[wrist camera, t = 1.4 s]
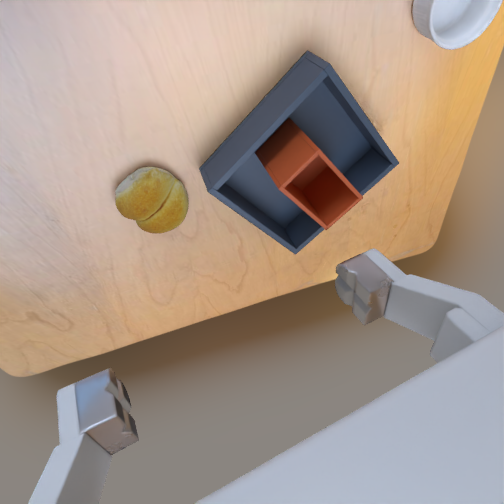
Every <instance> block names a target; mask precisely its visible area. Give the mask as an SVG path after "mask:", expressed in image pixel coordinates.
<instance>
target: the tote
mask: <svg viewBox="0 0 504 504" xmlns="http://www.w3.org/2000/svg"><path fill="white" fill-rule="evenodd" d="M255 154H256V156H257V157H258V159H259V160H260V162H261V163H262V165H263V166H264V168H265V169H266V171H267V172H268V174H269V175H270V177H271V178H272V180H273V181H274V183H275V184H276V186H277V188H278V189H279V190H280V191H281V192H282V193H284V194H285V195H286V196H287V197H288V198H289V199H291V200H292V201H293V202H294V203H295V204H296V205H298V206H299V207H300V208H301V209H302V210H303V211H304V212H306V213H307V214H308V215H309V216H310V217H311V218H313V219H314V220H315V221H316V222H317V223H318V224H320V225H321V226H322V227H323V228H324V229H325V230H327V229H328V228H329V227H331V226H332V225H333V224H334V223H335V222H336V221H337V220H339V219H340V218H341V217H342V216H343V215H344V214H345V213H347V212H348V211H349V210H350V209H351V208H352V207H353V206H355V205H356V204H357V203H358V202H359V201H360V200H361V199H363V196H362V195H361V194H360V193H359V192H358V191H357V190H356V189H355V188H354V186H353V185H352V184H351V183H350V182H349V181H348V180H347V179H346V178H345V176H344V175H343V174H342V173H341V172H340V171H339V170H338V169H337V168H336V166H335V165H334V164H333V163H332V162H331V161H330V160H329V159H328V158H327V157H326V155H325V154H324V153H323V152H322V151H321V150H320V149H319V148H318V147H317V146H316V145H315V144H314V143H313V142H312V140H311V139H310V138H309V137H308V136H307V135H306V134H305V133H304V132H303V131H302V130H301V129H300V128H299V127H298V126H297V125H296V124H295V123H294V122H293V121H292V120H291V119H290V118H288V119H287V120H286V121H285V122H284V123H283V124H282V125H281V126H280V127H279V128H278V129H277V130H276V132H275V133H274V134H273V135H272V136H271V137H270V138H269V139H268V140H267V141H266V142H265V143H264V144H263V145H262V146H261V147H260V148H259V149H258V150H257V151H256V152H255Z"/></svg>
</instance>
